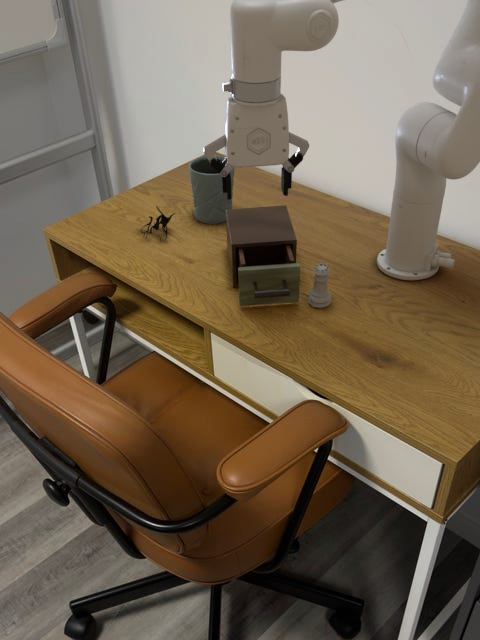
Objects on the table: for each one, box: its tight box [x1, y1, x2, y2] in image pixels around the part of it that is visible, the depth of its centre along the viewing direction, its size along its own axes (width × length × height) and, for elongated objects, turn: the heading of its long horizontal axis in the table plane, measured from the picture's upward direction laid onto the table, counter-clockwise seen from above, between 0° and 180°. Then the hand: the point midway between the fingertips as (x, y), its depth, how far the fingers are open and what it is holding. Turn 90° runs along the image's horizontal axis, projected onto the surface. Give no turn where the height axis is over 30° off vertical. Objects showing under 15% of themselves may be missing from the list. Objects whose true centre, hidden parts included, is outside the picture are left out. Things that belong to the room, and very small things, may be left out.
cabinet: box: [225, 204, 298, 288], centre depth 143 cm, size 15×13×10 cm
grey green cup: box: [188, 155, 236, 225], centre depth 160 cm, size 10×10×12 cm
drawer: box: [236, 244, 301, 307], centre depth 135 cm, size 18×11×8 cm, turn 5°
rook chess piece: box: [307, 262, 332, 309], centre depth 133 cm, size 4×4×8 cm
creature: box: [140, 205, 176, 242], centre depth 156 cm, size 8×5×8 cm
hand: (256, 194), depth 120 cm, fingers open, 9 cm apart
